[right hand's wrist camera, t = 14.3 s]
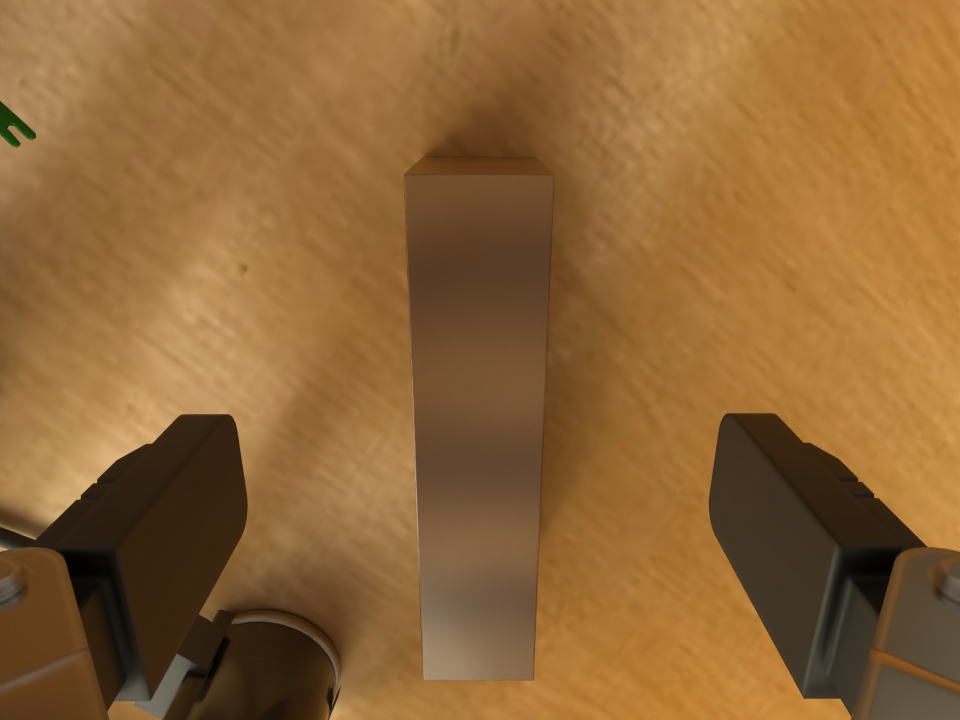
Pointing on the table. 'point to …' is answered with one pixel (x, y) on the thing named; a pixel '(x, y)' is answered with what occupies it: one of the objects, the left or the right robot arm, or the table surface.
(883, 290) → the table surface
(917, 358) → the table surface
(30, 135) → the toy
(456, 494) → the bar
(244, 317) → the table surface
